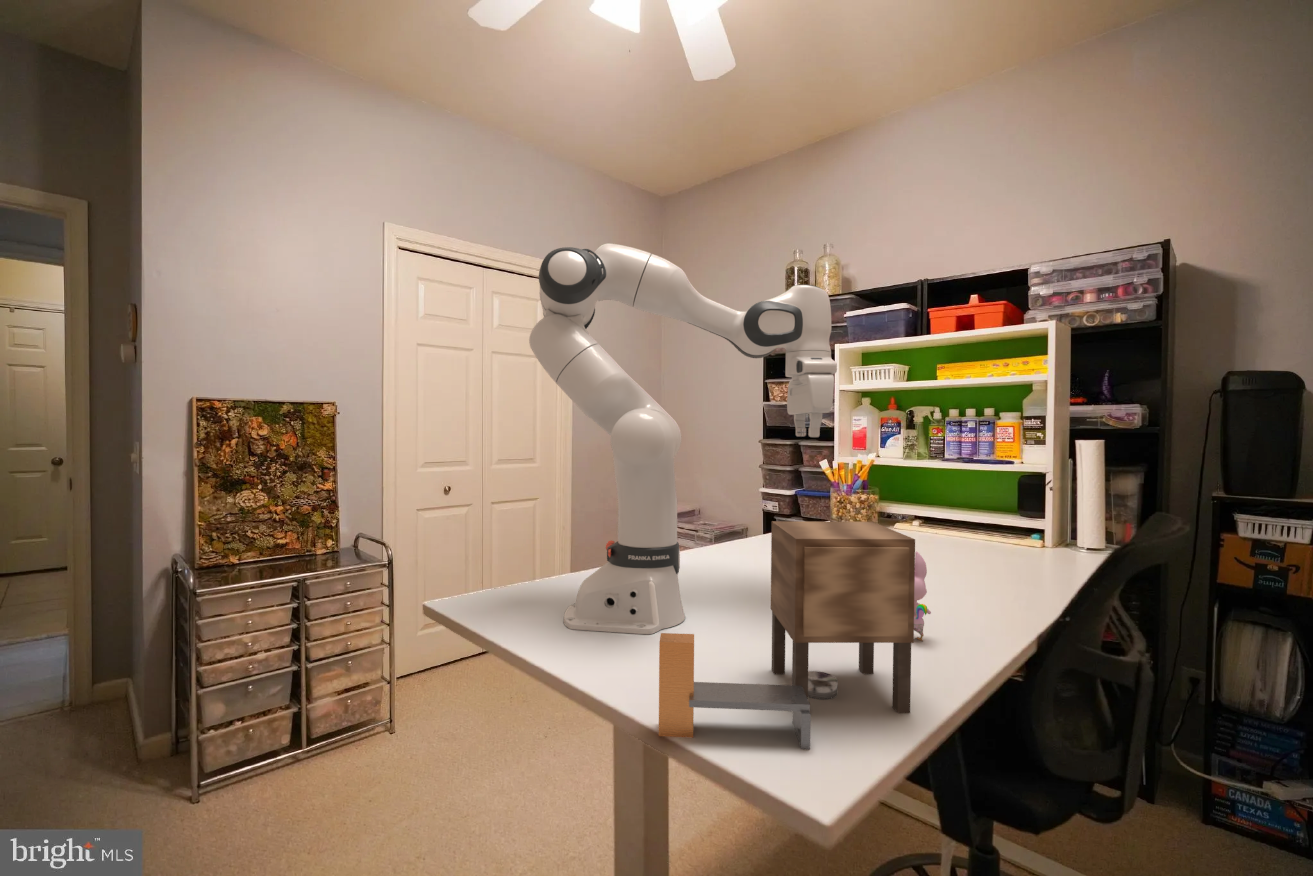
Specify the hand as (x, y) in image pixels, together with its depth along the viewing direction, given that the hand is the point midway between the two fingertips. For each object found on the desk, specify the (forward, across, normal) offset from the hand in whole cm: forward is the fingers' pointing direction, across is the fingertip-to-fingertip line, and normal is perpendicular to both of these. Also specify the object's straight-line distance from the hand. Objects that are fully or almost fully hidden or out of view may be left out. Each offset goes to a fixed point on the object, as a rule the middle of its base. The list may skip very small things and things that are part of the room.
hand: (807, 436), depth 121 cm
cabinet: (+34, +39, -6) cm, 52 cm away
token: (+34, +39, -9) cm, 53 cm away
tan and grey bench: (+34, +50, -29) cm, 67 cm away
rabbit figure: (+34, +21, +13) cm, 42 cm away
